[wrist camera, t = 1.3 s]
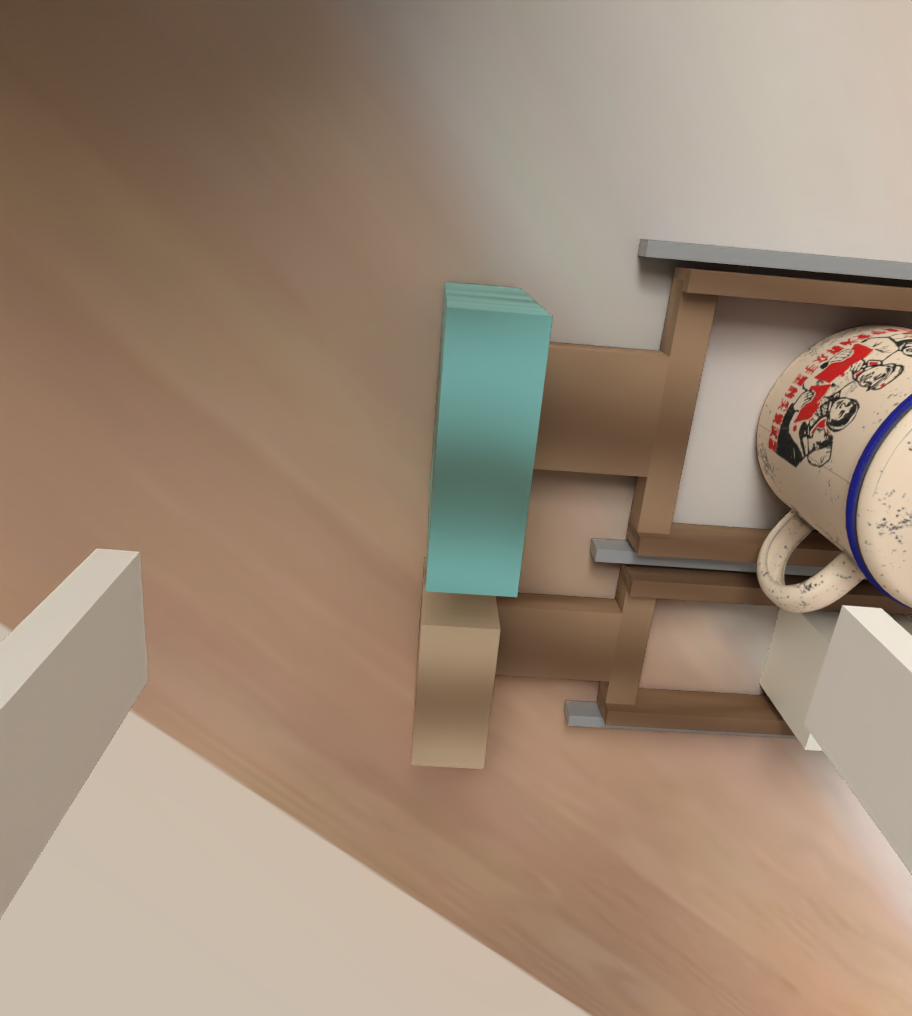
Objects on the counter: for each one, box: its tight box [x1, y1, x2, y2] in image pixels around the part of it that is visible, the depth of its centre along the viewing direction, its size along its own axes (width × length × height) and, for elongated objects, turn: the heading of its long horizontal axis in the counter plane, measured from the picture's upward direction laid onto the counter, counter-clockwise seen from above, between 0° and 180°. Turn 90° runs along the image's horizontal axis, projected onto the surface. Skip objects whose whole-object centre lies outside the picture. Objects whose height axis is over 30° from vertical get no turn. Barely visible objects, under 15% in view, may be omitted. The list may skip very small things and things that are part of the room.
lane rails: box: [564, 239, 912, 738], centre depth 33 cm, size 22×20×1 cm
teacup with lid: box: [757, 325, 912, 613], centre depth 27 cm, size 12×9×12 cm
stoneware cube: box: [759, 608, 912, 751], centre depth 34 cm, size 5×5×5 cm
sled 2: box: [411, 557, 912, 769], centre depth 33 cm, size 8×26×6 cm, turn 85°
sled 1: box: [426, 267, 912, 597], centre depth 27 cm, size 12×26×9 cm, turn 85°
